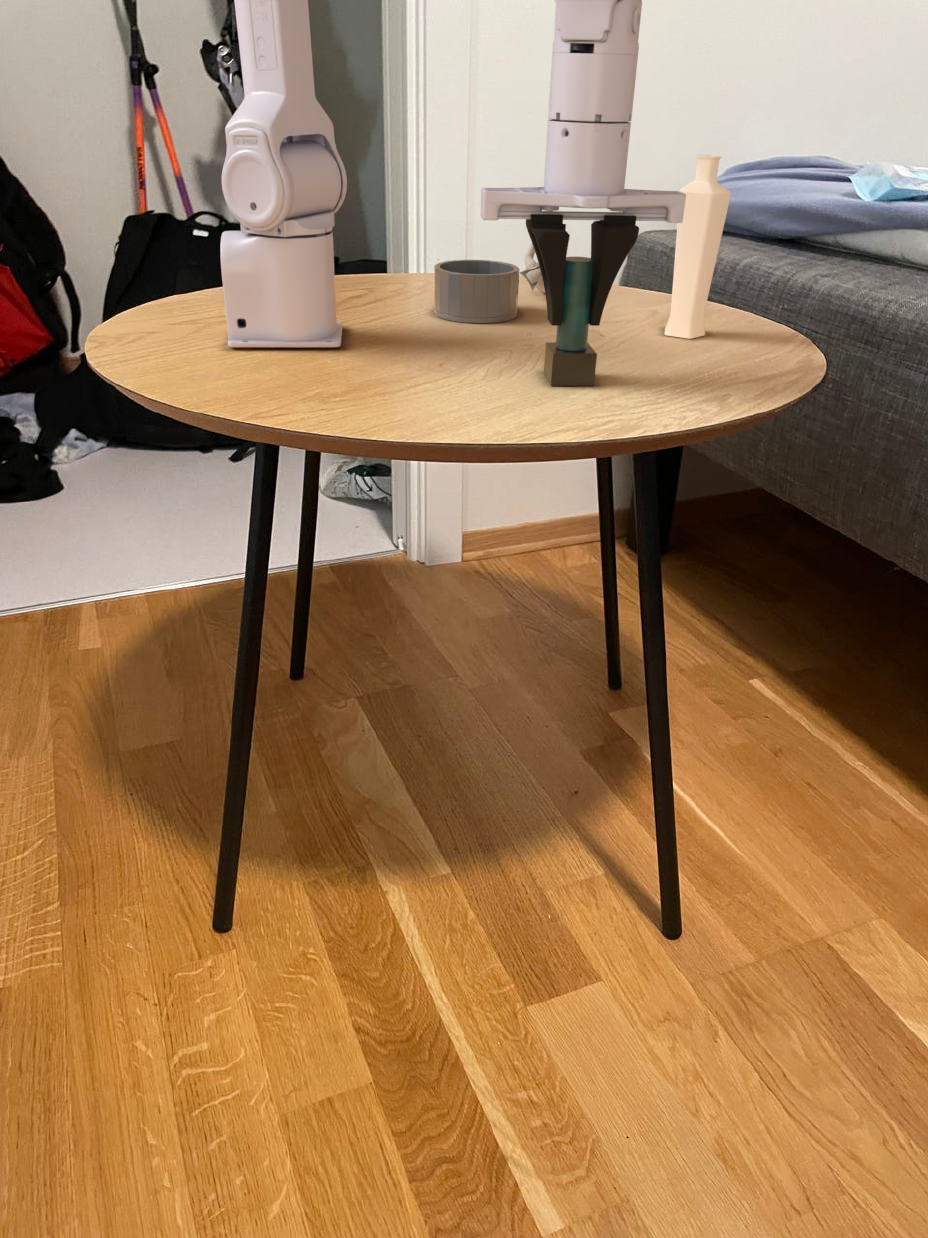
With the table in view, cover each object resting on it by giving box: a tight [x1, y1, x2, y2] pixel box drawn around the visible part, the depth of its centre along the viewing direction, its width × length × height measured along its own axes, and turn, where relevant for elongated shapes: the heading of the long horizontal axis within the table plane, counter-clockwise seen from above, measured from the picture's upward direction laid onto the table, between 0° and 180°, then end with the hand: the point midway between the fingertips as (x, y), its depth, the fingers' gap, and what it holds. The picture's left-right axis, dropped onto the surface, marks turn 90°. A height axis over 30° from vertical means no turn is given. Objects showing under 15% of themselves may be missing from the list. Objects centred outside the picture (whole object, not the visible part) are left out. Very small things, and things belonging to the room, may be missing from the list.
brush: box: [543, 256, 598, 387], centre depth 71 cm, size 3×3×9 cm
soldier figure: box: [519, 242, 545, 294], centre depth 101 cm, size 8×5×12 cm
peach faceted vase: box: [664, 154, 732, 339], centre depth 84 cm, size 5×4×15 cm
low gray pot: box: [433, 259, 520, 324], centre depth 92 cm, size 8×8×4 cm
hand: (572, 322), depth 71 cm, fingers closed on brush, 2 cm apart
